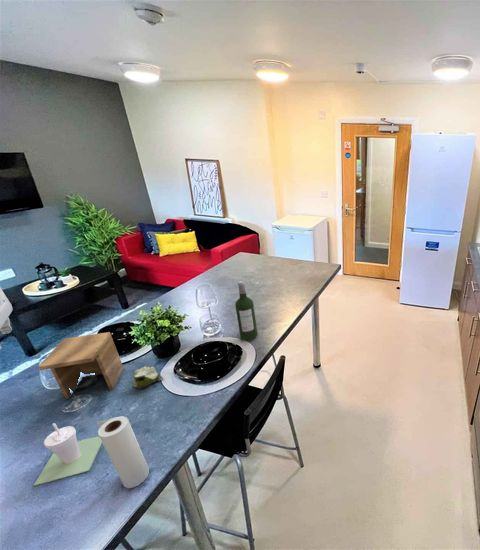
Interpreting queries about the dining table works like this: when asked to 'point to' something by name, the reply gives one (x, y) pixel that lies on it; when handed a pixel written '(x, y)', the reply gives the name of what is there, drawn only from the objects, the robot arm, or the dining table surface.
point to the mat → (83, 464)
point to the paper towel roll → (123, 450)
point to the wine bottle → (245, 314)
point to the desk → (84, 360)
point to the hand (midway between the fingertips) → (2, 340)
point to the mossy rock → (145, 377)
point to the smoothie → (63, 444)
